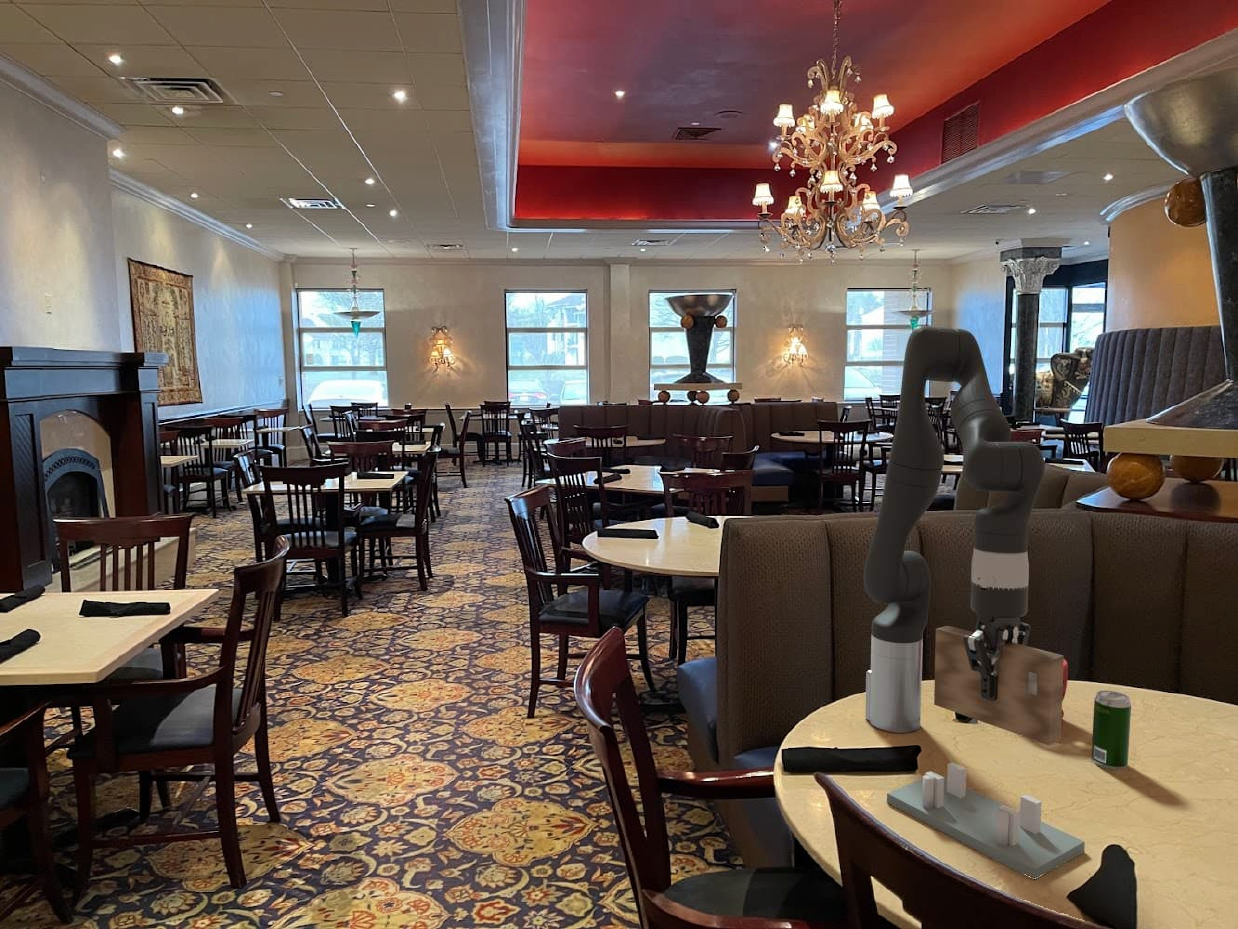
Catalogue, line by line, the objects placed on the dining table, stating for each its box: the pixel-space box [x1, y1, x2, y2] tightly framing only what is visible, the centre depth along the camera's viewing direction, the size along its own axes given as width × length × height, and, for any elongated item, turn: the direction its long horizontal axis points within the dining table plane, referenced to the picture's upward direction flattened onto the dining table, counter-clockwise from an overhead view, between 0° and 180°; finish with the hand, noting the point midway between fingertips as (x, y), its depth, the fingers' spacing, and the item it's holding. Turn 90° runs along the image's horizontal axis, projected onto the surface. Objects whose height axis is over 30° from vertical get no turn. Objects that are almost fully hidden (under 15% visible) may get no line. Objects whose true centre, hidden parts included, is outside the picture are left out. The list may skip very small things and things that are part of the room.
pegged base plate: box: [886, 761, 1086, 879], centre depth 121 cm, size 24×12×6 cm, turn 32°
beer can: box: [1091, 690, 1132, 771], centre depth 140 cm, size 5×5×12 cm
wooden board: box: [933, 625, 1065, 746], centre depth 121 cm, size 18×3×12 cm, turn 34°
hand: (995, 695), depth 120 cm, fingers closed on wooden board, 3 cm apart
